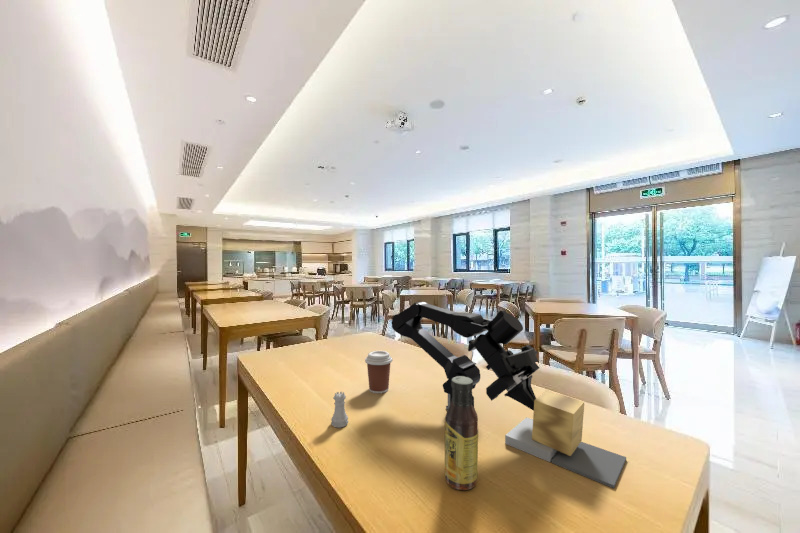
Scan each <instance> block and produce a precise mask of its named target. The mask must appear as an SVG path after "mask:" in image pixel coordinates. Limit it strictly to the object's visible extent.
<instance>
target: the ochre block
mask: <svg viewBox="0 0 800 533" xmlns="http://www.w3.org/2000/svg"><path fill="white" fill-rule="evenodd" d="M584 412H585V401H583V400H580V399H577V398H575V397H574V398H573V397H570V396H567V395H565V394H561V393H558V392H555V391H552V390H548V389H547V390H545V391H544V392H543V393H542V394H541V395H539V396H537V397H536V399H535V400H534V411H533V415H532V419H533V429H532V440H535V441H537V442H539V443H541V444H544V445H546V446H548V447H551V448H553V449H555V450H557V451H560V452H562V453H564V454H567V455H569V456H571V455H572V454H573V452H574V451H575V449H576V448H577V447H578V445H579V444H580V442H583V441H582V439H583V428H584V427H583V426H584Z"/></svg>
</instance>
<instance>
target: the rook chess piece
mask: <svg viewBox="0 0 800 533" xmlns="http://www.w3.org/2000/svg"><path fill="white" fill-rule="evenodd" d="M346 398H347V396H346V395H345V392H344V391H343V392H342V391H336V392H334V396H333V401H334V412H333V414H332V417H331V419H330V420H331V422H330V424H331V426H332V427H333V428H336V429H341V428H344V427H346V426H347V425H348V423H349V417H348V414H347V413H346V409H345V404H346V401H345V400H346Z"/></svg>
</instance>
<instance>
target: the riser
mask: <svg viewBox="0 0 800 533" xmlns="http://www.w3.org/2000/svg"><path fill="white" fill-rule="evenodd" d="M532 429H533V418H531V417H525V418H524V419H522V421H520V422H519V423H518V424H517V425H516V426H514V427H513V428H512V429H511V430H509V431H508V432H507V433H506V434H505V435H504V436H505V437H504V439H505V440H504V442H505V443H504V444H505V445H507V446H510V447H512V448H515V449H517V450H520V451H522V452H524V453H526V454H528V455H532V456H534V457H537V458H539V459H541V460H544V461H546V462H549V463H552V459H553V458H554V457H555V456H556V454H557V453H558V452H559V451H557V450H555V449H553V448H551V447H548V446H546V445H544V444H541V443H539V442H537V441H535V440H532Z"/></svg>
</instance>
